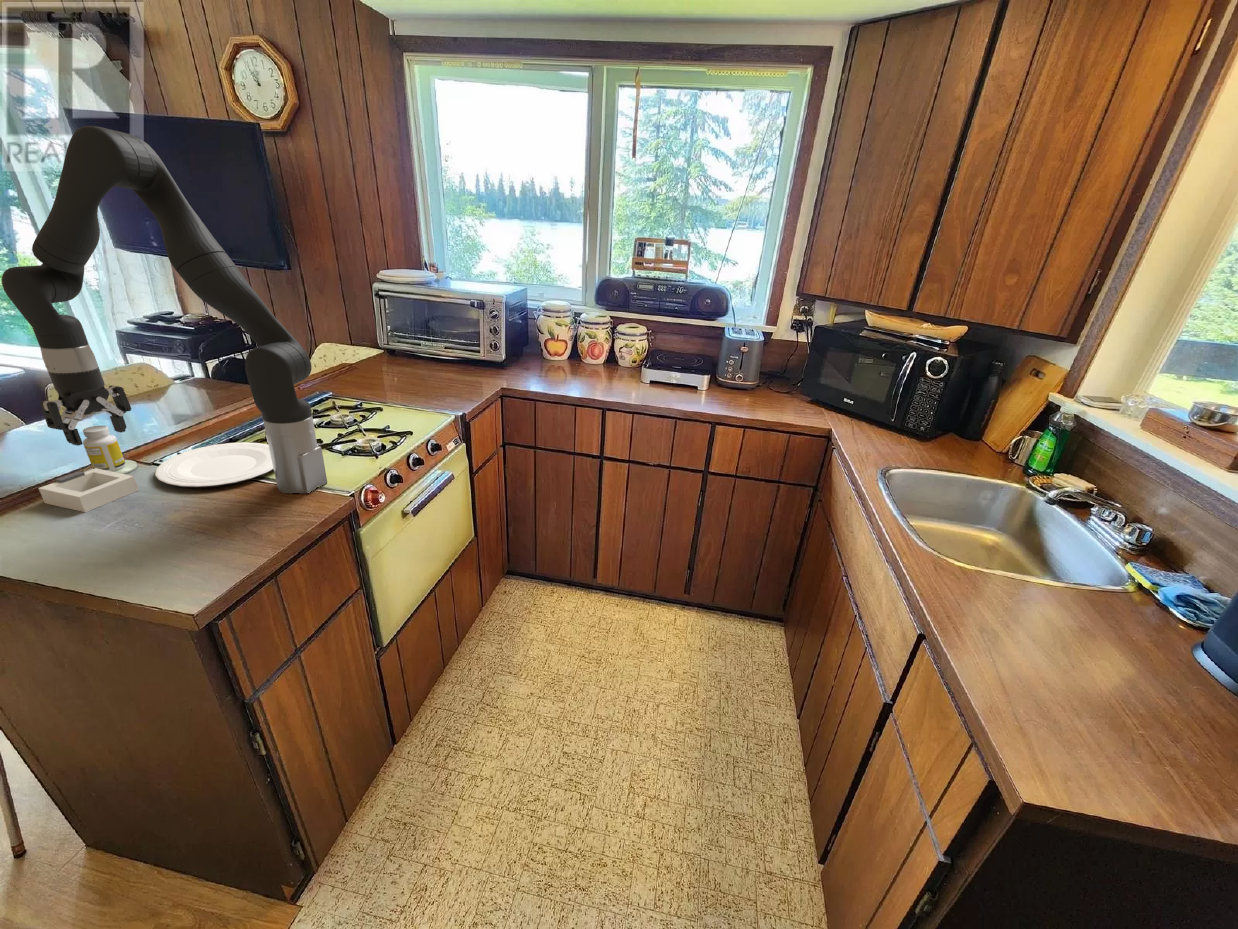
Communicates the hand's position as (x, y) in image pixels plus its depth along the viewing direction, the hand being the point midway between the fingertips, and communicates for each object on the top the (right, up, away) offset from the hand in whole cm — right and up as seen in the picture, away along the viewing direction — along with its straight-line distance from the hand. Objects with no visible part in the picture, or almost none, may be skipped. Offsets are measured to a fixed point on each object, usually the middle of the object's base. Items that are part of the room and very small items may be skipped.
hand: (99, 437), depth 111 cm
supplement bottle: (-1, -7, +3) cm, 8 cm away
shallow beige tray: (+6, -13, -7) cm, 16 cm away
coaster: (-1, -7, +3) cm, 8 cm away
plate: (+20, -7, +10) cm, 24 cm away
